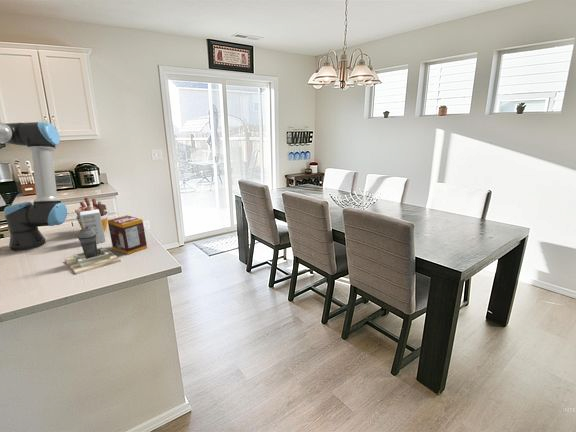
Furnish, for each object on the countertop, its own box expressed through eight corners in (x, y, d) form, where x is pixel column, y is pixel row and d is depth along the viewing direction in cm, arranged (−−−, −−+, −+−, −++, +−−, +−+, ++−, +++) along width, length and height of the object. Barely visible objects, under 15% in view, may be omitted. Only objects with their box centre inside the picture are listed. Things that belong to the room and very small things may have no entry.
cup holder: (65, 261, 146) (63, 254, 145) (107, 250, 159) (105, 243, 158) (75, 274, 133) (74, 266, 132) (120, 261, 145) (119, 254, 144)
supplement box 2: (131, 242, 169) (126, 214, 165) (147, 248, 160) (142, 219, 156) (112, 248, 161) (106, 219, 157) (128, 254, 152) (122, 224, 148)
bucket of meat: (114, 232, 187) (108, 199, 181) (82, 238, 177) (74, 204, 171) (107, 224, 202) (101, 194, 196) (77, 230, 192) (70, 199, 186)
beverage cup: (92, 263, 141) (83, 221, 136) (79, 262, 143) (69, 220, 137) (104, 256, 148) (96, 216, 143) (91, 255, 150) (83, 215, 144)
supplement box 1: (106, 241, 171) (100, 212, 166) (86, 245, 166) (79, 215, 161) (104, 237, 178) (98, 208, 174) (85, 240, 174) (79, 211, 169)
